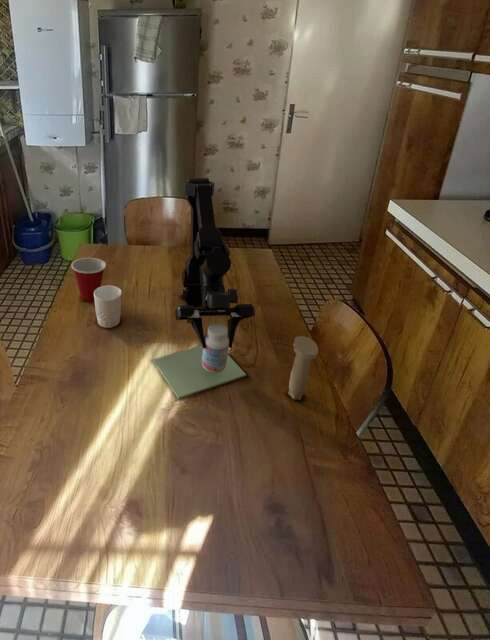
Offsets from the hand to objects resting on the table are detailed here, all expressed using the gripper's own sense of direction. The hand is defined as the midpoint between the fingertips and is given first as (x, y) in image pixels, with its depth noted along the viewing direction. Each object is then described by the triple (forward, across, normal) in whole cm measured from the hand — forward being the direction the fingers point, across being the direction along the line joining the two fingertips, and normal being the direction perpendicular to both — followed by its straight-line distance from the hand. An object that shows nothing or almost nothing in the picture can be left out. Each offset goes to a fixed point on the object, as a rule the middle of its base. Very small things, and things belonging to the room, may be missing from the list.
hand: (217, 348), depth 104 cm
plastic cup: (-20, -33, +34) cm, 51 cm away
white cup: (-10, -27, +24) cm, 37 cm away
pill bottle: (+4, 0, +6) cm, 7 cm away
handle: (+12, +18, +2) cm, 21 cm away
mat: (+4, -3, +9) cm, 10 cm away
